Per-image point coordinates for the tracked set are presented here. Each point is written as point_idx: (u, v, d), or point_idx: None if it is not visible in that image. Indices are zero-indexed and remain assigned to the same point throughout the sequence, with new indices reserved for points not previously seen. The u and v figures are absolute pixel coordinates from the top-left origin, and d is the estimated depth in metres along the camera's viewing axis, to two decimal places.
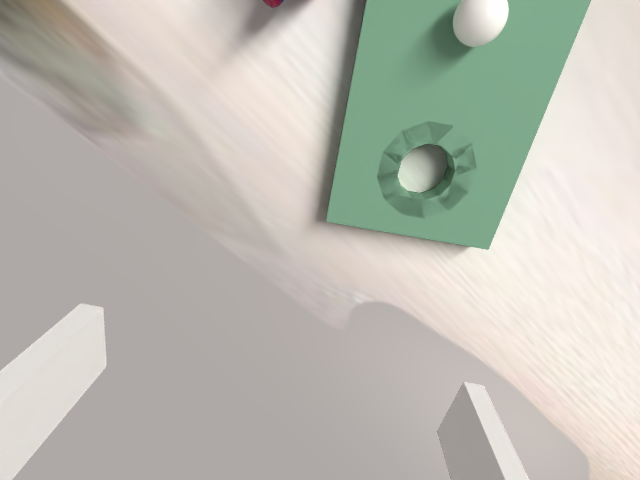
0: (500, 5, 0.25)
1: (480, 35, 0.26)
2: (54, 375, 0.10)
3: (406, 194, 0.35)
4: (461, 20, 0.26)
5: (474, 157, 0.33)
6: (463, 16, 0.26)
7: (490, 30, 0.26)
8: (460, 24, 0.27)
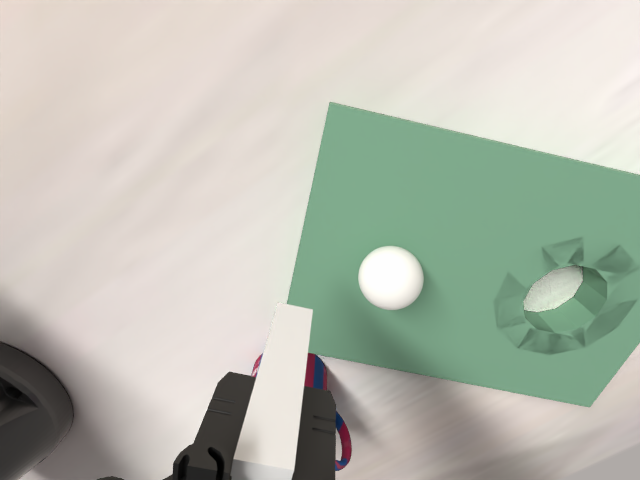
0: (388, 281, 0.19)
1: (416, 294, 0.20)
2: None
3: (588, 322, 0.25)
4: None
5: (564, 241, 0.22)
6: None
7: (414, 287, 0.20)
8: None
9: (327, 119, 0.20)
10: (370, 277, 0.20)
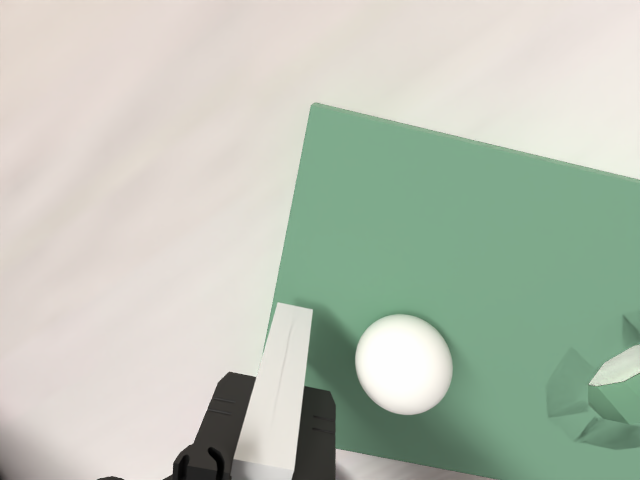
0: (400, 380, 0.13)
1: (443, 395, 0.13)
2: None
3: None
4: None
5: None
6: None
7: (440, 388, 0.13)
8: None
9: (308, 129, 0.13)
10: (373, 370, 0.13)
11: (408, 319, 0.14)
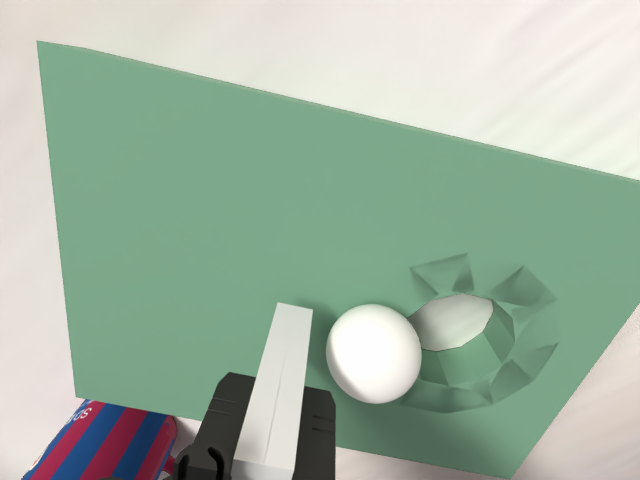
0: None
1: (329, 354, 0.14)
2: None
3: (493, 372, 0.17)
4: None
5: (442, 259, 0.15)
6: None
7: (331, 336, 0.14)
8: None
9: (41, 67, 0.12)
10: None
11: (395, 315, 0.14)
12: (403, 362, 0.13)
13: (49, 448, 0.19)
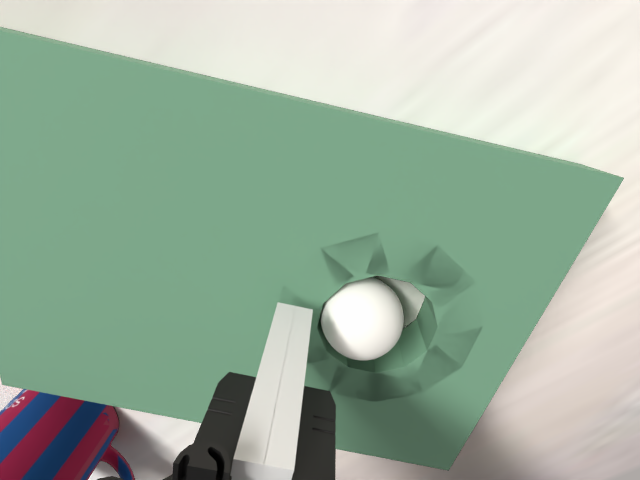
0: (360, 332, 0.15)
1: (397, 340, 0.16)
2: None
3: (418, 358, 0.17)
4: None
5: (352, 239, 0.14)
6: None
7: (393, 334, 0.15)
8: None
9: None
10: (336, 327, 0.15)
11: (363, 280, 0.16)
12: None
13: None
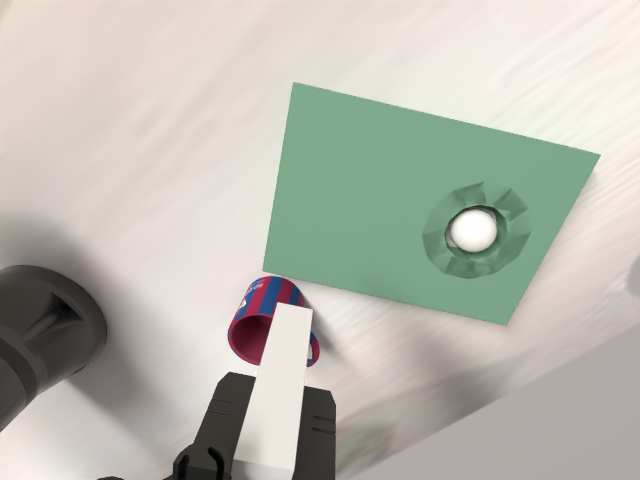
0: (485, 234, 0.30)
1: None
2: None
3: (495, 252, 0.32)
4: None
5: (470, 185, 0.30)
6: None
7: (496, 234, 0.31)
8: None
9: (292, 94, 0.28)
10: (473, 234, 0.30)
11: (477, 210, 0.31)
12: None
13: (248, 298, 0.35)
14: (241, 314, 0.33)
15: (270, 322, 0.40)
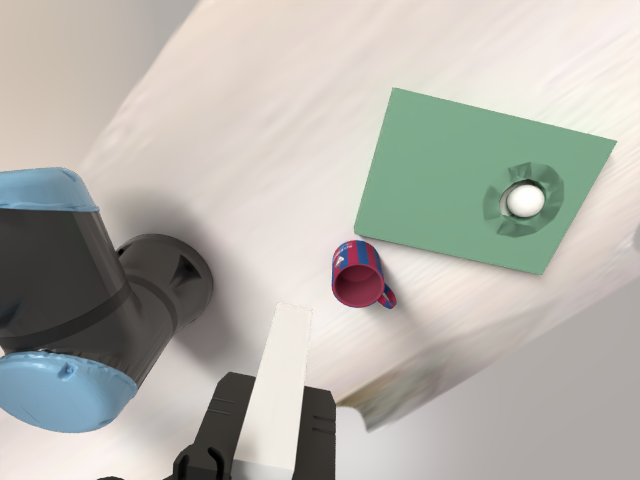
0: (541, 202, 0.41)
1: None
2: None
3: (537, 215, 0.43)
4: None
5: (520, 164, 0.40)
6: None
7: None
8: None
9: (394, 96, 0.38)
10: (533, 203, 0.41)
11: (530, 185, 0.42)
12: None
13: (344, 255, 0.45)
14: (344, 265, 0.42)
15: (351, 278, 0.50)
